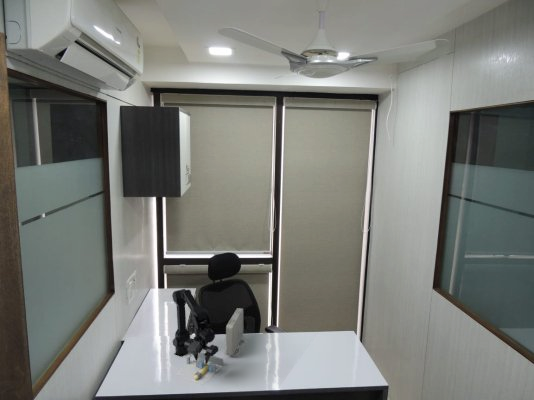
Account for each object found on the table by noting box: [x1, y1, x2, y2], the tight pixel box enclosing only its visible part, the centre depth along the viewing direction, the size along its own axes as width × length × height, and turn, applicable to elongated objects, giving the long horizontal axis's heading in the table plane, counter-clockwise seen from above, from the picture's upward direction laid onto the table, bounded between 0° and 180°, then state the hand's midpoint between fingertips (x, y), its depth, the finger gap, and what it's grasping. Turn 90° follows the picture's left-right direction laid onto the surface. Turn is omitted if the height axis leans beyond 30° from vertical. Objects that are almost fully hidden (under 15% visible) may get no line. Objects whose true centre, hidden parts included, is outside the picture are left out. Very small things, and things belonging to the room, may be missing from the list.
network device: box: [224, 307, 246, 357], centre depth 210 cm, size 26×9×20 cm, turn 170°
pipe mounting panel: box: [174, 351, 224, 386], centre depth 188 cm, size 19×18×5 cm
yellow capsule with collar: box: [194, 366, 209, 380], centre depth 184 cm, size 11×3×2 cm, turn 153°
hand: (201, 361), depth 183 cm, fingers open, 6 cm apart
